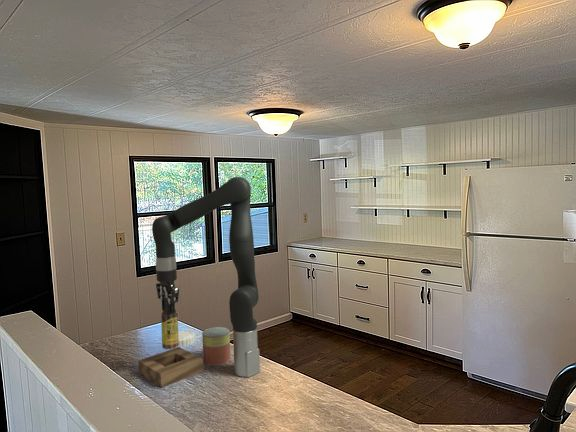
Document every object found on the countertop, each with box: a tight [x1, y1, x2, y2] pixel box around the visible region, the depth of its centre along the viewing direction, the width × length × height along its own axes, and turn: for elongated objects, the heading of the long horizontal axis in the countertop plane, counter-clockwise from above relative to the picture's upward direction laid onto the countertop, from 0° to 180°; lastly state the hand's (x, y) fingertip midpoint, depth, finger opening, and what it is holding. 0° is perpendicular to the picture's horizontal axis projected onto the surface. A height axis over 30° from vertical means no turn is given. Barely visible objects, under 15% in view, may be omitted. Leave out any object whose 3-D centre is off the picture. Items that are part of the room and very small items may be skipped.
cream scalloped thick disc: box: [176, 330, 196, 348], centre depth 199 cm, size 12×12×4 cm
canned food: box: [201, 326, 231, 367], centre depth 178 cm, size 11×11×12 cm
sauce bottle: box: [160, 294, 179, 350], centre depth 166 cm, size 6×6×20 cm
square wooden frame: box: [137, 347, 204, 388], centre depth 167 cm, size 18×18×5 cm
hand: (168, 311), depth 166 cm, fingers closed on sauce bottle, 4 cm apart
